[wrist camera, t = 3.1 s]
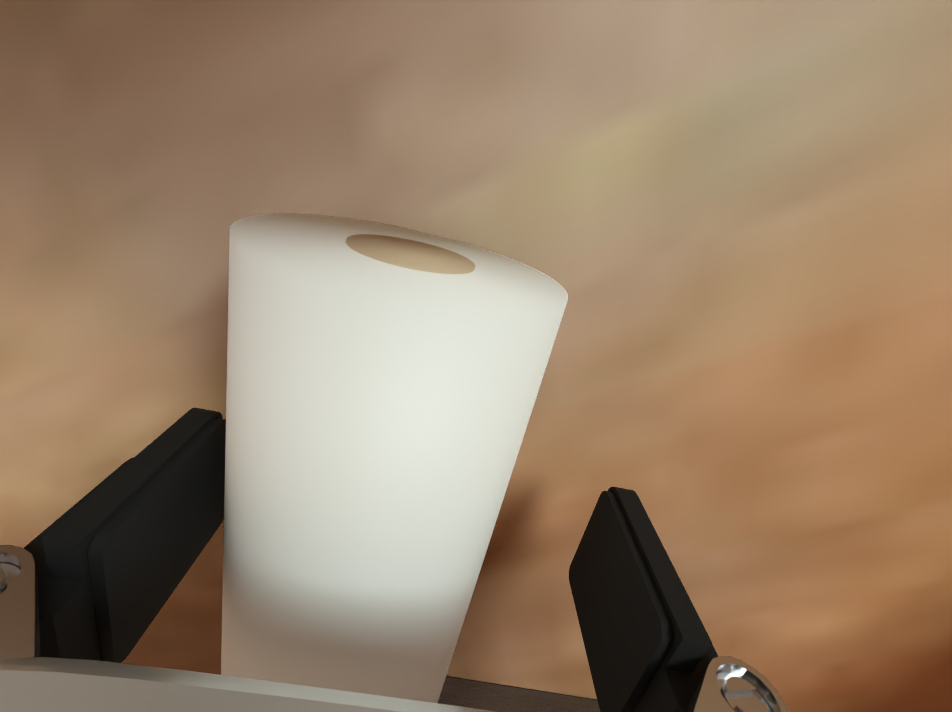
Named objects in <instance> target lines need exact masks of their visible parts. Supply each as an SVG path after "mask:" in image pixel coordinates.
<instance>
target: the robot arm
mask: <svg viewBox="0 0 952 712" xmlns="http://www.w3.org/2000/svg"><path fill="white" fill-rule="evenodd" d="M225 444H226V420H224V419H223V418H222V415H221V413H219V412H215V411H210V410H205V409H199V408H192V409H191V410H189V411H188V412H187V413H186V414H185V415H183V416H182V417H181V418H180V419H179V420H178V421H176V422H175V423H174V424H173V425H172V426H171V427H169V428H168V429H167V430H166V431H165V432H164V433H162V434H161V435H160V436H159V437H158V438H157V439H155V440H154V441H153V442H152V443H151V444H150V445H148V446H147V447H146V448H145V449H144V450H143V451H141V452H140V453H139V454H138V455H137V456H136V457H133V458H131V459H129V460H128V461H126V462H125V463H124V464H122V465H121V466H120V467H119V468H118V469H117V470H115V471H114V472H113V473H112V474H111V475H109V476H108V477H107V478H106V479H105V480H104V481H102V482H101V483H100V484H99V485H98V486H96V487H95V488H94V489H93V490H92V491H91V492H89V493H88V494H87V495H86V496H85V497H83V498H82V499H81V500H80V501H79V502H78V503H76V504H75V505H74V506H73V507H72V508H70V509H69V510H68V511H67V512H66V513H65V514H63V515H62V516H61V517H60V518H59V519H57V520H56V521H55V522H54V523H53V524H52V525H50V526H49V527H48V528H47V529H46V530H44V531H43V532H42V533H41V534H40V535H39V536H37V537H36V538H35V539H34V540H33V541H31V542H30V543H29V544H28V545H27V546H26V547H24V548H21V547H17V546H13V545H0V712H496V711H489V710H481V709H474V708H467V707H460V706H453V705H445V704H438V703H431V702H423V701H416V700H408V699H401V698H394V697H386V696H379V695H371V694H364V693H356V692H349V691H341V690H334V689H326V688H319V687H311V686H304V685H296V684H288V683H280V682H272V681H265V680H257V679H249V678H241V677H234V676H226V675H218V674H210V673H202V672H195V671H187V670H179V669H169V668H160V667H151V666H142V665H133V664H124V663H121V662H122V661H123V660H124V659H125V658H126V657H127V656H128V655H129V653H130V652H131V650H132V649H133V648H134V646H135V645H136V643H137V642H138V640H139V639H140V638H141V636H142V635H143V633H144V632H145V631H146V629H147V628H148V626H149V625H150V623H151V622H152V621H153V619H154V618H155V616H156V615H157V614H158V612H159V611H160V609H161V608H162V606H163V605H164V604H165V602H166V601H167V599H168V598H169V597H170V595H171V594H172V592H173V591H174V590H175V588H176V587H177V585H178V584H179V582H180V581H181V580H182V578H183V577H184V575H185V574H186V573H187V571H188V570H189V568H190V567H191V565H192V564H193V563H194V561H195V560H196V558H197V557H198V556H199V554H200V553H201V551H202V550H203V548H204V547H205V546H206V544H207V543H208V541H209V540H210V539H211V537H212V536H213V534H214V533H215V531H216V530H217V529H218V527H219V526H220V524H221V523H222V521H223V519H224V494H225ZM569 581H570V586H571V590H572V594H573V599H574V603H575V607H576V611H577V615H578V620H579V624H580V628H581V632H582V637H583V641H584V645H585V649H586V654H587V658H588V662H589V666H590V671H591V675H592V679H593V683H594V688H595V692H596V696H597V700H598V704H599V709H600V712H789V711H788V709H787V706H786V704H785V702H784V700H783V699H782V697H781V696H780V694H779V693H778V691H777V690H776V689H775V688H774V686H773V685H772V684H771V683H770V682H769V681H768V680H767V679H766V678H765V677H764V676H763V675H762V674H761V673H759V672H758V671H757V670H756V669H755V668H753V667H752V666H750V665H748V664H747V663H745V662H743V661H742V660H739V659H736V658H733V657H731V656H718V655H717V653H716V651H715V649H714V647H713V645H712V642H711V640H710V638H709V636H708V634H707V632H706V630H705V628H704V626H703V624H702V622H701V620H700V618H699V616H698V614H697V612H696V610H695V608H694V606H693V604H692V602H691V600H690V598H689V596H688V594H687V592H686V590H685V588H684V586H683V584H682V582H681V580H680V578H679V576H678V574H677V573H676V571H675V569H674V567H673V565H672V563H671V561H670V559H669V557H668V555H667V553H666V551H665V549H664V547H663V545H662V543H661V541H660V539H659V537H658V535H657V533H656V531H655V529H654V527H653V525H652V523H651V521H650V519H649V517H648V515H647V513H646V511H645V509H644V507H643V505H642V503H641V501H640V499H639V497H638V495H637V494H636V492H635V491H633V490H628V489H623V488H617V487H610V488H609V490H608V491H603V492H602V493H601V495H600V497H599V499H598V502H597V504H596V506H595V509H594V511H593V513H592V516H591V518H590V520H589V523H588V525H587V527H586V530H585V532H584V535H583V537H582V539H581V542H580V544H579V546H578V549H577V551H576V553H575V556H574V558H573V560H572V563H571V565H570V569H569Z"/></svg>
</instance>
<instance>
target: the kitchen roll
mask: <svg viewBox="0 0 952 712" xmlns="http://www.w3.org/2000/svg"><path fill="white" fill-rule="evenodd" d="M567 301H568V294H567V292H566V290H565V289H564V288H563V287H562V286H561V285H560V284H559V283H558V282H556V281H555V280H554V279H552V278H551V277H549V276H547V275H546V274H544V273H542V272H540V271H538V270H536V269H535V268H532V267H530V266H528V265H526V264H524V263H521V262H519V261H517V260H514V259H512V258H509V257H506V256H504V255H501V254H498V253H495V252H493V251H490V250H487V249H484V248H481V247H477V246H474V245H471V244H468V243H464V242H461V241H456V240H452V239H448V238H444V237H440V236H436V235H431V234H427V233H423V232H419V231H415V230H411V229H406V228H402V227H398V226H394V225H388V224H383V223H377V222H371V221H365V220H358V219H351V218H344V217H335V216H326V215H314V214H295V213H272V214H259V215H253V216H248V217H244V218H241V219H238V220H237V221H235V222H233V223H232V225H231V226H230V243H229V293H228V343H227V393H226V444H225V494H224V544H223V595H222V645H221V675H226V676H234V677H241V678H249V679H257V680H265V681H272V682H280V683H288V684H296V685H304V686H311V687H319V688H326V689H334V690H341V691H349V692H356V693H364V694H371V695H379V696H386V697H394V698H401V699H408V700H416V701H423V702H431V703H438V700H439V697H440V694H441V691H442V687H443V684H444V681H445V678H446V675H447V672H448V669H449V666H450V663H451V660H452V657H453V653H454V650H455V647H456V644H457V641H458V638H459V635H460V632H461V629H462V626H463V623H464V619H465V616H466V613H467V610H468V607H469V604H470V601H471V598H472V595H473V592H474V588H475V585H476V582H477V579H478V576H479V573H480V570H481V567H482V564H483V561H484V558H485V554H486V551H487V548H488V545H489V542H490V539H491V536H492V533H493V530H494V527H495V524H496V520H497V517H498V514H499V511H500V508H501V505H502V502H503V499H504V496H505V493H506V490H507V486H508V483H509V480H510V477H511V474H512V471H513V468H514V465H515V462H516V459H517V456H518V452H519V449H520V446H521V443H522V440H523V437H524V434H525V431H526V428H527V425H528V421H529V418H530V415H531V412H532V409H533V406H534V403H535V400H536V397H537V394H538V391H539V387H540V384H541V381H542V378H543V375H544V372H545V369H546V366H547V363H548V360H549V357H550V353H551V350H552V347H553V344H554V341H555V338H556V335H557V332H558V329H559V326H560V323H561V319H562V316H563V313H564V310H565V307H566V304H567Z"/></svg>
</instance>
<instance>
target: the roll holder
mask: <svg viewBox="0 0 952 712" xmlns="http://www.w3.org/2000/svg"><path fill="white" fill-rule="evenodd" d="M438 704H445V705H453V706H460V707H467V708H474V709H481V710H489V711H496V712H600V709H599V704H598V700H592V699H586V698H580V697H573V696H567V695H560V694H554V693H548V692H541V691H535V690H528V689H522V688H516V687H509V686H503V685H497V684H490V683H484V682H477V681H471V680H465V679H458V678H452V677H446V678H445V681H444V684H443V687H442V691H441V694H440V697H439V700H438Z"/></svg>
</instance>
